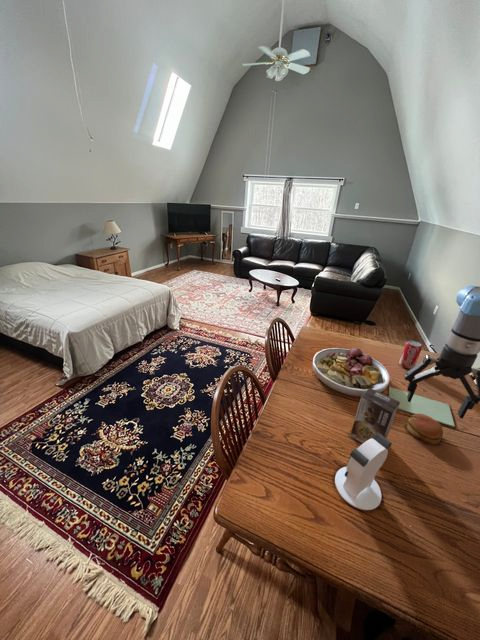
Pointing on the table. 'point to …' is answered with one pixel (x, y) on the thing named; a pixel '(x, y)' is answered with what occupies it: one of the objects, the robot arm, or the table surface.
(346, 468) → the white oval-base stand
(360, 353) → the bowl
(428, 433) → the burger
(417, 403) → the mat
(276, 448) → the table surface
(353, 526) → the table surface
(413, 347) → the beverage can
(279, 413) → the table surface
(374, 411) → the coffee box
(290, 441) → the table surface
